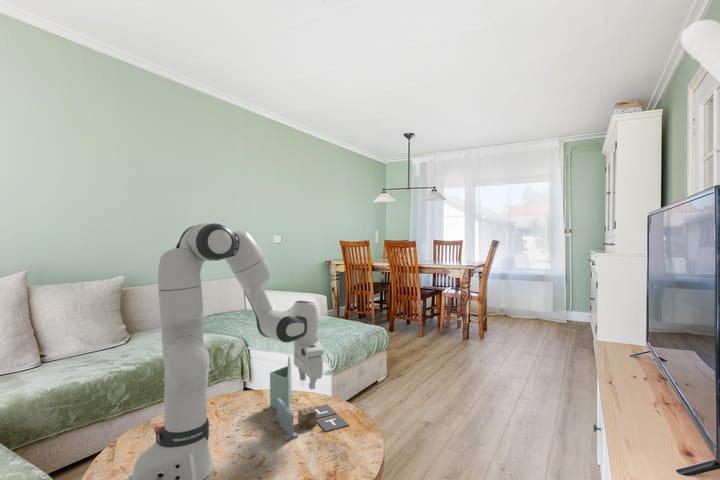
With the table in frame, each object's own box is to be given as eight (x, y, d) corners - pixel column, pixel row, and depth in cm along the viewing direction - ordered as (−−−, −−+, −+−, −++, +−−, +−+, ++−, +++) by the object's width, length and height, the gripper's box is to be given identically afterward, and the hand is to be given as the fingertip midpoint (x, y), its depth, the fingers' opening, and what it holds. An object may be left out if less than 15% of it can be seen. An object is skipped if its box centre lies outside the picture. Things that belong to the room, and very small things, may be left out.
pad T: (325, 432, 128) (325, 430, 128) (315, 421, 136) (315, 419, 136) (349, 425, 132) (349, 424, 132) (338, 415, 140) (338, 414, 140)
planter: (272, 398, 157) (272, 351, 157) (291, 396, 158) (291, 350, 158) (267, 415, 141) (267, 363, 141) (288, 414, 142) (288, 362, 142)
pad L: (314, 419, 137) (314, 418, 137) (305, 410, 145) (305, 408, 145) (336, 414, 141) (336, 412, 141) (327, 405, 149) (327, 403, 149)
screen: (286, 440, 123) (285, 416, 123) (272, 420, 137) (272, 398, 137) (297, 437, 125) (297, 413, 125) (283, 418, 139) (283, 396, 139)
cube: (302, 429, 130) (302, 414, 130) (297, 423, 135) (297, 409, 135) (316, 425, 133) (316, 411, 133) (311, 420, 137) (311, 405, 137)
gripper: (289, 340, 142) (289, 376, 142) (308, 354, 124) (309, 395, 124) (304, 338, 145) (305, 373, 145) (325, 351, 127) (326, 391, 127)
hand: (307, 384), depth 134 cm, fingers open, 8 cm apart
